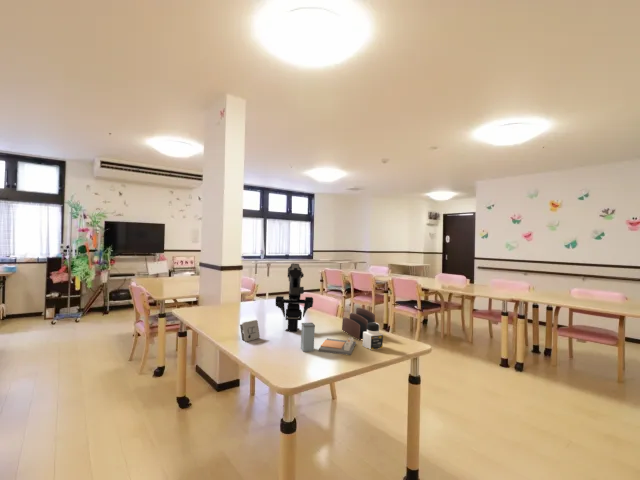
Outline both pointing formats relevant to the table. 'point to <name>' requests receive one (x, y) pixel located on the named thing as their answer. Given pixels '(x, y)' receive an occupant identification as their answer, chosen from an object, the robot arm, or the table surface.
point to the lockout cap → (307, 337)
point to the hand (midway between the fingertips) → (293, 316)
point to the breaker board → (338, 346)
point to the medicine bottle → (372, 336)
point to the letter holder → (357, 322)
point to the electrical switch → (250, 330)
